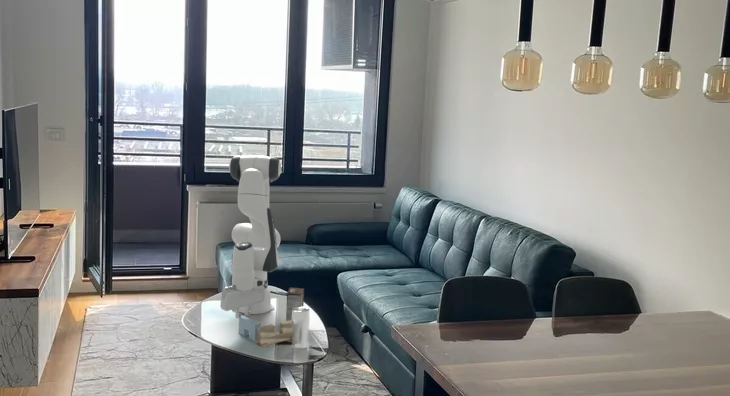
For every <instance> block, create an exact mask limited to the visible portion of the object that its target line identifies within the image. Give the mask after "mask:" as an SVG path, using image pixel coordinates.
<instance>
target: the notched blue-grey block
mask: <svg viewBox="0 0 730 396" xmlns="http://www.w3.org/2000/svg"><path fill="white" fill-rule="evenodd" d="M261 326H262V323H261V322H259V321H257V320H254V319H253V318H251V317H248V316H246V315H245V314H244V315H241V318H238V334H240V335H241V336H244V337H246V336H248V339H249V340H251V341H252V342H256V341H257V340H258V330H259V327H261Z"/></svg>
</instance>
